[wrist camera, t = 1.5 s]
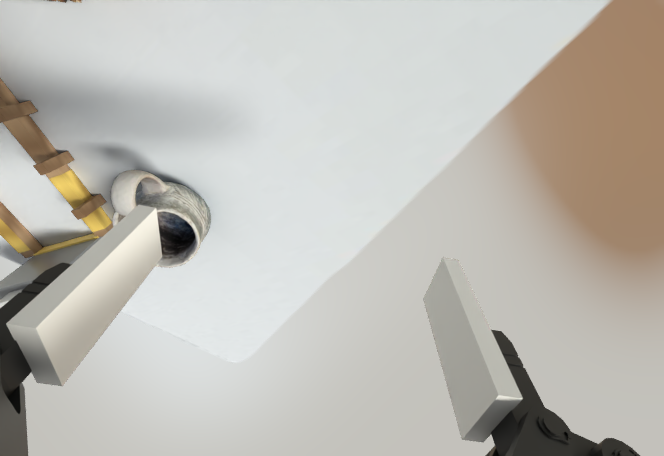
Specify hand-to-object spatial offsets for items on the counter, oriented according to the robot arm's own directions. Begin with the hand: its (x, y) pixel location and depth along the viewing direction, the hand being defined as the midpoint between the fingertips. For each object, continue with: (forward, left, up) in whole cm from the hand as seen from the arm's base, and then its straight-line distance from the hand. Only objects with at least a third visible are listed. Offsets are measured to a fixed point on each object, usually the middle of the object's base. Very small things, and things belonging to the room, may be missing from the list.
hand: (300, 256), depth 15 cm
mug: (+3, -21, -25) cm, 33 cm away
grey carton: (+7, -40, -25) cm, 47 cm away
